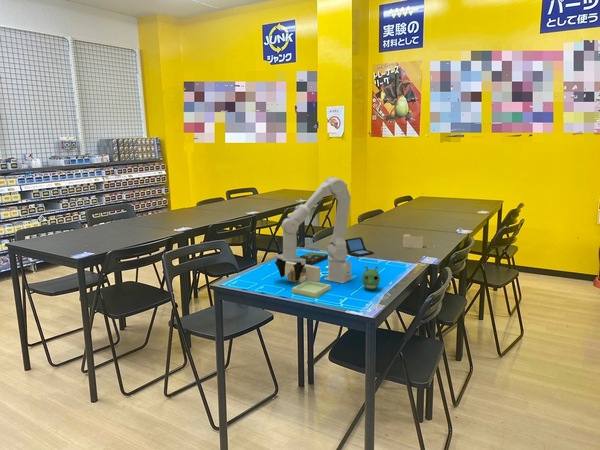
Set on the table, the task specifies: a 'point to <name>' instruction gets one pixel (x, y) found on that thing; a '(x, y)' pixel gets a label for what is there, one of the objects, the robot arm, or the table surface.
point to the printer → (305, 272)
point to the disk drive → (314, 258)
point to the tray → (311, 289)
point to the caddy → (292, 275)
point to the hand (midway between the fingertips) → (289, 278)
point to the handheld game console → (357, 247)
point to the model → (412, 241)
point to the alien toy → (371, 278)
